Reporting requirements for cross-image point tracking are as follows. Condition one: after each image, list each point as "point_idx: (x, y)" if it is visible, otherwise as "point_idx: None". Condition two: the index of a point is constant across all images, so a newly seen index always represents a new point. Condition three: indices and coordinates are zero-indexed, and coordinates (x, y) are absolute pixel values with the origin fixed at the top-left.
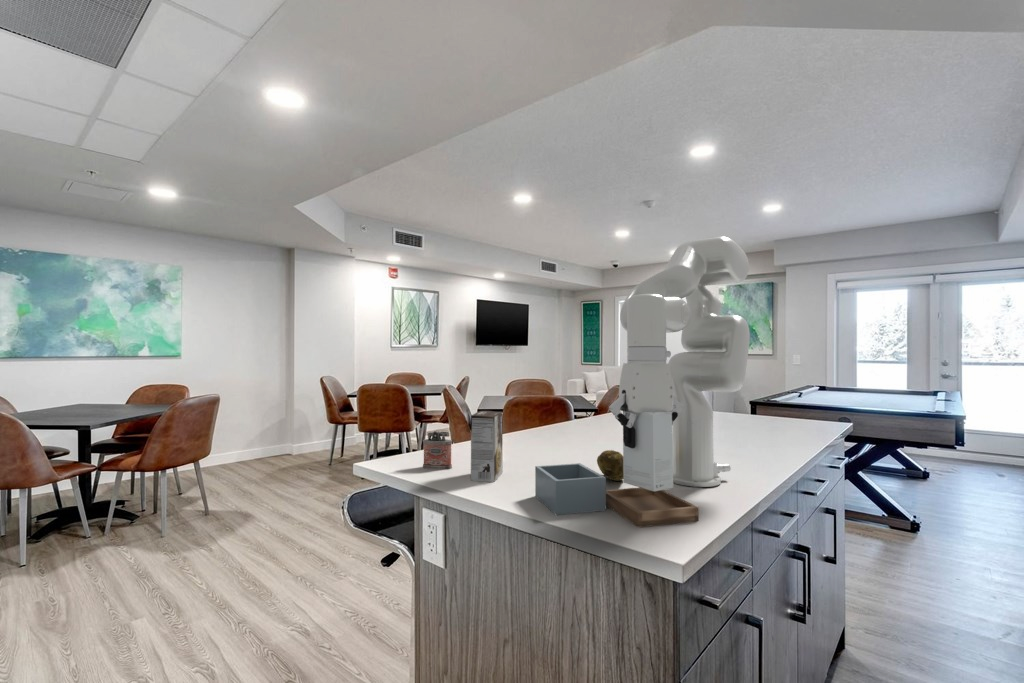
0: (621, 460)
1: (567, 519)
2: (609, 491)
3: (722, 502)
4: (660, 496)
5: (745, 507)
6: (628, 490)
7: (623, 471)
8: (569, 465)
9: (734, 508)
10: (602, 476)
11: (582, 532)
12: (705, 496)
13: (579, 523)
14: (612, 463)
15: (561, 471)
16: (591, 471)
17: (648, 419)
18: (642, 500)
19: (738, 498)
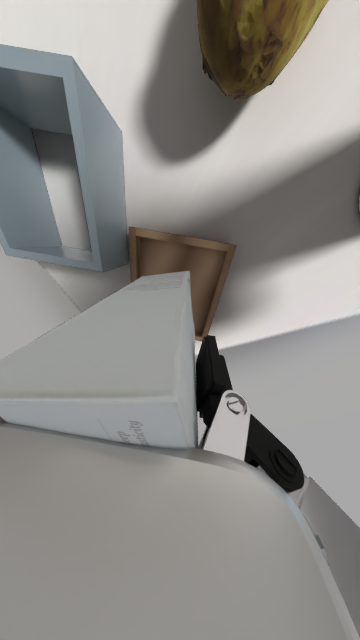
0: (261, 52)
1: (71, 271)
2: (140, 236)
3: (293, 304)
4: (219, 271)
5: (292, 328)
6: (177, 242)
7: (135, 280)
8: (32, 73)
9: (277, 325)
10: (98, 263)
11: (81, 309)
12: (306, 274)
13: (83, 288)
14: (216, 63)
15: (23, 88)
16: (86, 211)
17: None
18: (185, 269)
19: (333, 302)
